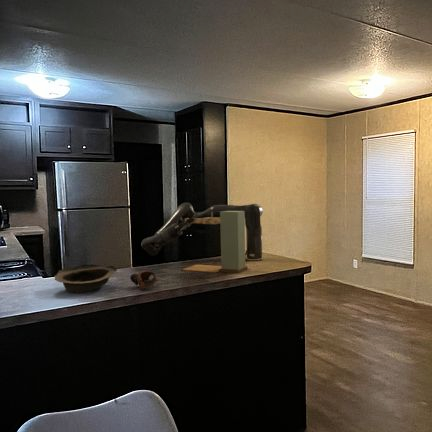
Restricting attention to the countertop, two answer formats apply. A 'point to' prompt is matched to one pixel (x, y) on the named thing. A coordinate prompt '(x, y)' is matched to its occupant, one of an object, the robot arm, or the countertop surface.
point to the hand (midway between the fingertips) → (194, 218)
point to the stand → (232, 241)
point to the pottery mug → (143, 279)
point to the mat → (203, 268)
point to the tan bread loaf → (206, 220)
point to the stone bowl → (84, 277)
